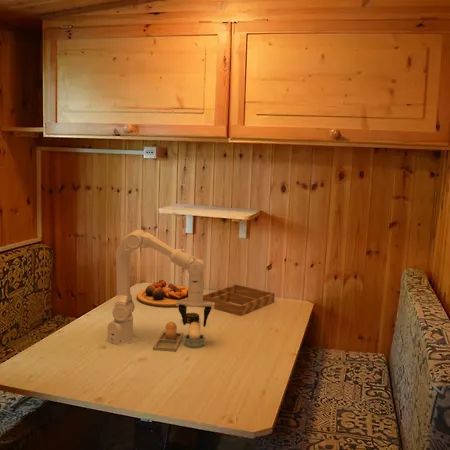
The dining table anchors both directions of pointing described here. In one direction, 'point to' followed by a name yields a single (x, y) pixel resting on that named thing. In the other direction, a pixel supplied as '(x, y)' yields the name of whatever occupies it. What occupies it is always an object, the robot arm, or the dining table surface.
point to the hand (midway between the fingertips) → (194, 325)
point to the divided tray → (168, 343)
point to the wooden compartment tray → (239, 299)
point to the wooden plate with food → (162, 294)
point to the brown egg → (171, 331)
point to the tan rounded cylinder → (194, 331)
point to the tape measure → (191, 317)
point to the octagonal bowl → (194, 342)
